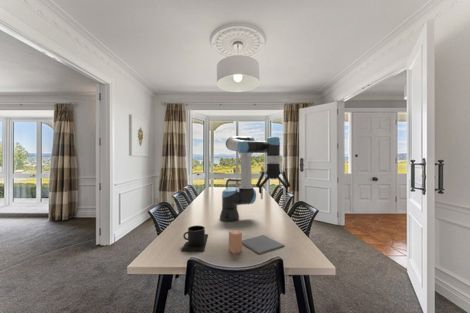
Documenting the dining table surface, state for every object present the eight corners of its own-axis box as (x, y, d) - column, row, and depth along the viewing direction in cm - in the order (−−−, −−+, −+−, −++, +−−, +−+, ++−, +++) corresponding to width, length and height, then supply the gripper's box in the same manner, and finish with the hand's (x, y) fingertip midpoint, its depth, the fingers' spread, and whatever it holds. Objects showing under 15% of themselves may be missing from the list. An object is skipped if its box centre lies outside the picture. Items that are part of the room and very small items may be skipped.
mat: (239, 242, 131) (239, 240, 131) (263, 236, 141) (263, 234, 141) (259, 254, 116) (259, 252, 116) (284, 246, 126) (284, 244, 126)
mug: (184, 240, 133) (184, 225, 133) (205, 240, 134) (205, 225, 134) (182, 247, 124) (182, 231, 123) (204, 247, 124) (204, 230, 124)
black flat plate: (175, 253, 118) (204, 252, 119) (175, 252, 118) (204, 250, 119) (184, 235, 143) (208, 234, 144) (184, 234, 143) (208, 233, 144)
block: (228, 250, 121) (228, 231, 121) (236, 248, 124) (236, 229, 123) (233, 253, 117) (234, 234, 116) (241, 251, 119) (242, 232, 119)
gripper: (253, 163, 129) (253, 200, 130) (295, 163, 131) (295, 199, 131) (251, 162, 137) (251, 197, 137) (291, 162, 138) (291, 197, 139)
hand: (273, 198), depth 134 cm, fingers open, 13 cm apart
